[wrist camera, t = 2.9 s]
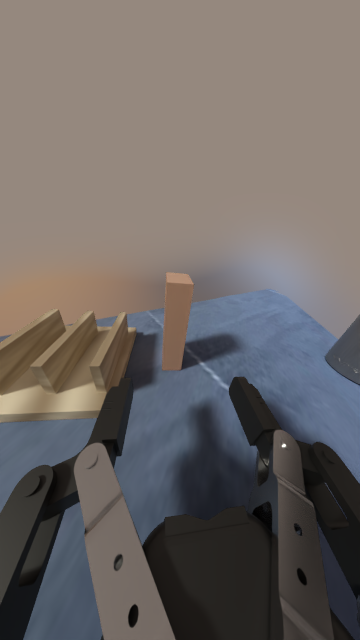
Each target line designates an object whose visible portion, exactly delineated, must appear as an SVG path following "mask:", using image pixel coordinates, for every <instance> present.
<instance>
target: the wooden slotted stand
mask: <svg viewBox="0 0 360 640" xmlns="http://www.w3.org/2000/svg"><path fill="white" fill-rule="evenodd" d="M135 337H136V328H128V324H127V314H126V313H123V312H121V313H120V314H119V316H118V317H117V319H116V321H115V323H114V324H113V326H112V327H97V324H96V320H95V316H94V312H93V311H87V312H86V313H84V315H82V316H81V317H80V318H79V319H78V320H77V321H76V322H75V323H74V324H73V325H72V326H64V323H63V320H62V317H61V315H60V312H59V310H57V309H52V310H50V311H49V312H47V313H46V314H44V315H42V316H41V317H39V318H38V319H36V320H35V321H33V322H31V323H30V324H29V325H27V326H25V327H24V328H22V329H21V330H19V331H18V332H16V333H14V334H13V335H11V336H10V337H8V338H7V339H5V340H4V341H2V342H0V422H21V421H42V420H62V419H83V418H98V415H99V413H100V411H101V407H102V404H103V402H104V399H105V396H106V394H107V392H108V391H109V390H110V389H111V387H112V386H118V385H119V382H120V379H121V378H124V375H125V372H126V368H127V365H128V361H129V358H130V354H131V351H132V348H133V344H134V341H135Z"/></svg>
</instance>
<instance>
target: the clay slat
mask: <svg viewBox="0 0 360 640" xmlns="http://www.w3.org/2000/svg"><path fill="white" fill-rule="evenodd" d="M193 287H194V284H193V282H192V280H191V279H190V277H189V276H188V274H180V273H168V272H167V274H166V293H165V310H164V329H163V348H162V370H181V366H182V359H183V353H184V346H185V340H186V333H187V327H188V320H189V314H190V307H191V300H192V294H193Z"/></svg>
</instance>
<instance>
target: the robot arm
mask: <svg viewBox="0 0 360 640" xmlns="http://www.w3.org/2000/svg"><path fill="white" fill-rule="evenodd" d="M325 358H326V360H327V362H328V363H329V364H330V365H331V366H332V367H333V368H334V369H335V370H336V371H338V372H339V373H340V374H342V375H343V376H345V377H347V378H348V379H350V380H352V381H354V382H356V383H357V384H360V315H359V316H358V317H357V318H356V320H355V321H354V322H353V323H352V324H351V326H350V327H349V328H348V329H347V330H346V332H345V333H344V334H343V335H342V336H341V338H340V339H339V340H338V341H337V342H336V343H335V344H334V346H333V347H332V348H331V349H330V350H329V352H328V353H327V354H326V356H325ZM229 395H230V398H231V400H232V403H233V405H234V408H235V410H236V413H237V415H238V417H239V420H240V422H241V425H242V427H243V430H244V432H245V435H246V437H247V439H248V442H249V444H250V446H255V445H256V446H257V449H258V451H257V457H256V468H255V478H254V486H253V490H252V492H251V495H250V499H249V506H248V512H247V511H246V510H245V507H244V506H239V507H232V508H226V509H224V510H223V511H221V512H220V513H219V514H217V515H216V516H214V517H213V518H211V519H210V520H203V519H200V518H196V517H193V516H190V515H186V514H184V515H178V516H171V517H165V519H164V522H162V523H161V524H159V525H158V526H157V527H156V528H155V529H154V530H153V531H152V532H151V533H150V535H149V536H148V537H147V539H146V540H145V542H144V544H143V546H142V544H141V541H140V539H139V536H138V533H137V530H136V528H135V525H134V522H133V520H132V517H131V514H130V512H129V509H128V506H127V504H126V501H125V498H124V495H123V493H122V490H121V487H120V485H119V482H118V479H117V476H116V474H115V471H114V465H115V461H116V456H121V455H122V450H123V444H124V439H125V434H126V429H127V424H128V419H129V414H130V409H131V404H132V399H133V383H132V378H121V379H120V382H119V385H118V386H112V387H111V389H110V390H109V391H108V392H107V394H106V396H105V399H104V402H103V404H102V407H101V411H100V413H99V415H98V418H97V421H96V423H95V426H94V429H93V431H92V434H91V437H90V439H89V441H88V443H87V445H86V446H85V447H84V449H83V450H82V451H81V452H80V453H78V454H77V455H76V456H74V457H72V458H70V459H68V460H66V461H64V462H62V463H59V464H57V465H55V466H53V467H50V466H49V465H41V466H38V467H36V468H34V469H32V470H31V471H30V472H28V473H27V474H26V475H25V476H24V477H23V478H22V479H21V480H20V481H19V482H18V484H17V485H16V487H15V488H14V490H13V492H12V493H11V495H10V497H9V499H8V501H7V502H6V504H5V506H4V508H3V510H2V511H1V513H0V640H23V638H24V635H25V632H26V629H27V626H28V623H29V620H30V617H31V613H32V610H33V607H34V604H35V601H36V598H37V595H38V592H39V589H40V586H41V583H42V580H43V576H44V573H45V570H46V567H47V564H48V561H49V558H50V555H51V552H52V549H53V546H54V543H55V540H56V536H57V533H58V530H59V527H60V524H61V521H62V518H63V515H64V512H65V510H66V509H68V508H69V507H71V506H73V505H75V504H76V503H78V502H80V504H81V509H82V514H83V519H84V524H85V544H86V550H87V555H88V561H89V566H90V571H91V576H92V581H93V586H94V591H95V596H96V602H97V607H98V612H99V617H100V622H101V627H102V632H103V635H102V638H101V640H354V638H353V637H352V636H351V634H350V633H349V632H348V631H347V629H346V628H345V627H344V625H343V624H342V623H341V622H340V620H339V619H338V618H337V616H336V615H335V614H334V613H333V611H332V610H331V609H330V607H329V601H328V595H327V588H326V581H325V574H324V568H323V561H322V554H321V547H320V540H319V534H318V527H317V522H318V524H319V526H320V528H321V530H322V531H323V533H324V535H325V537H326V539H327V541H328V543H329V545H330V547H331V549H332V551H333V553H334V555H335V557H336V559H337V561H338V563H339V565H340V567H341V569H342V571H343V573H344V575H345V577H346V579H347V581H348V583H349V585H350V587H351V589H352V591H353V593H354V595H355V597H356V599H357V608H358V613H357V621H358V624H359V627H360V484H359V483H358V481H357V480H356V479H355V477H354V476H353V475H352V473H351V472H350V471H349V469H348V468H347V467H346V465H345V464H344V463H343V461H342V460H341V459H340V457H339V456H338V455H337V454H336V453H335V452H334V451H333V450H332V449H331V448H330V447H328V446H327V445H325V444H323V443H321V442H315V443H314V444H313V445H309V444H306V443H303V442H300V441H297V440H295V439H294V438H293V437H292V436H291V435H290V434H288V433H287V432H285V431H283V430H282V429H281V427H280V426H279V424H278V423H277V421H276V419H275V418H274V416H273V414H272V413H271V411H270V410H269V408H268V406H267V405H266V404H265V401H264V400H263V398H262V396H261V395H260V393H259V391H258V390H257V389H256V388H255V387H254V386H253V385H252V384H249V383H248V381H247V379H246V378H245V377H234V378H233V380H232V383H231V385H230V387H229ZM325 482H326V484H327V485H328V487H329V489H330V490H331V492H332V494H333V495H334V497H335V498H336V500H337V502H338V503H339V505H340V506H341V508H342V510H343V511H344V513H345V515H346V517H347V519H348V520H347V519H346V517H345V516H344V514H343V512H342V511H341V509H340V508H339V506H338V504H337V503H336V501H335V499H334V498H333V496H332V495H331V493H330V491H329V490H328V488H327V486H326V485H325Z"/></svg>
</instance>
